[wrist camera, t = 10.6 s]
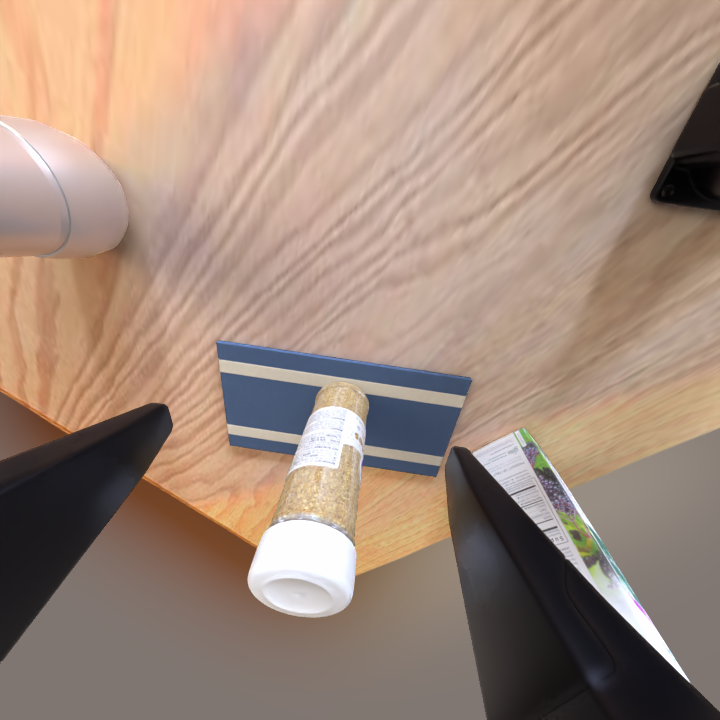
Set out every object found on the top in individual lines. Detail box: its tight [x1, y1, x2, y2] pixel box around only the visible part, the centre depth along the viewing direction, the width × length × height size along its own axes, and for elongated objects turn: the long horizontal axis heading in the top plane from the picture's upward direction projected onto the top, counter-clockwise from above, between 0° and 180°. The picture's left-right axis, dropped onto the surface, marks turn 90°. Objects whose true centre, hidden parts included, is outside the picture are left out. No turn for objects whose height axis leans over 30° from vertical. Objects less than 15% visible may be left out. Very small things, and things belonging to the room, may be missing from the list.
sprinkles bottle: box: [248, 382, 369, 617], centre depth 17 cm, size 5×5×13 cm
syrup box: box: [472, 428, 689, 682], centre depth 19 cm, size 6×6×14 cm
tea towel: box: [217, 341, 472, 477], centre depth 24 cm, size 20×11×1 cm, turn 83°
